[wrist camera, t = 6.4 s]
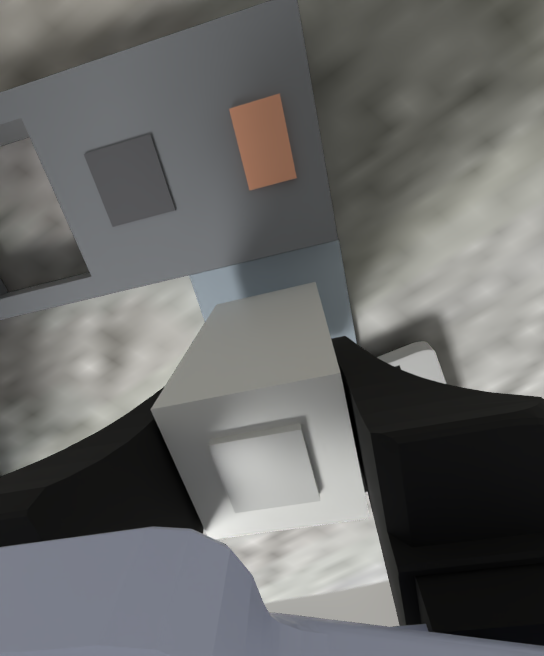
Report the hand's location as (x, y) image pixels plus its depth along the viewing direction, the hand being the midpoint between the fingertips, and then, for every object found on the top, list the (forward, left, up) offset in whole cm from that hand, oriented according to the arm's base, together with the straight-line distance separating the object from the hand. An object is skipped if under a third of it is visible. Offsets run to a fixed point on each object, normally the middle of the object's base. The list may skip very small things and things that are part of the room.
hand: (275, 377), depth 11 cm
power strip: (-6, +7, -5) cm, 10 cm away
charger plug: (0, 0, -3) cm, 3 cm away
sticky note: (0, 0, -5) cm, 5 cm away
